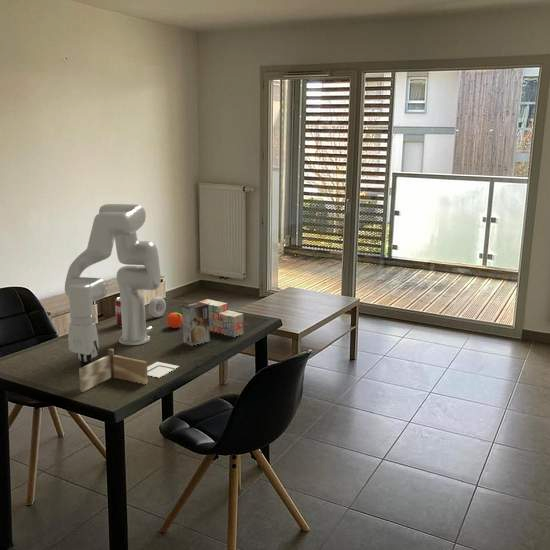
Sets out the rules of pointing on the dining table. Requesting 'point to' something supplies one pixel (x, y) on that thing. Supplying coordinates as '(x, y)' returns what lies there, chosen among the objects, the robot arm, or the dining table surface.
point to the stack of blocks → (224, 319)
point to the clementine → (174, 320)
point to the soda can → (118, 312)
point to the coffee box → (195, 323)
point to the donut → (152, 307)
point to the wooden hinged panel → (128, 368)
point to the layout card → (160, 369)
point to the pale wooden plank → (95, 373)
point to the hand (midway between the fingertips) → (86, 370)
